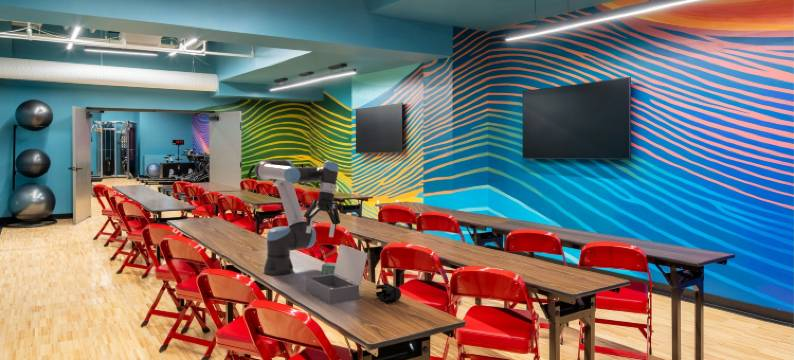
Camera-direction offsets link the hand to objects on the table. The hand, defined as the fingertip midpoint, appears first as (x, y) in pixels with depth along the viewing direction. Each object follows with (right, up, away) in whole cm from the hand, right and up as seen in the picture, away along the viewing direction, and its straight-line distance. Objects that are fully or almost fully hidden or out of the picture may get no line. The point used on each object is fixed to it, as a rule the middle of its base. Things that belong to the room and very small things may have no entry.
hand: (319, 235), depth 245 cm
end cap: (+34, -25, -28) cm, 51 cm away
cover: (+16, -11, -17) cm, 26 cm away
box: (+7, -23, +7) cm, 25 cm away
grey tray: (+9, -24, -21) cm, 33 cm away
